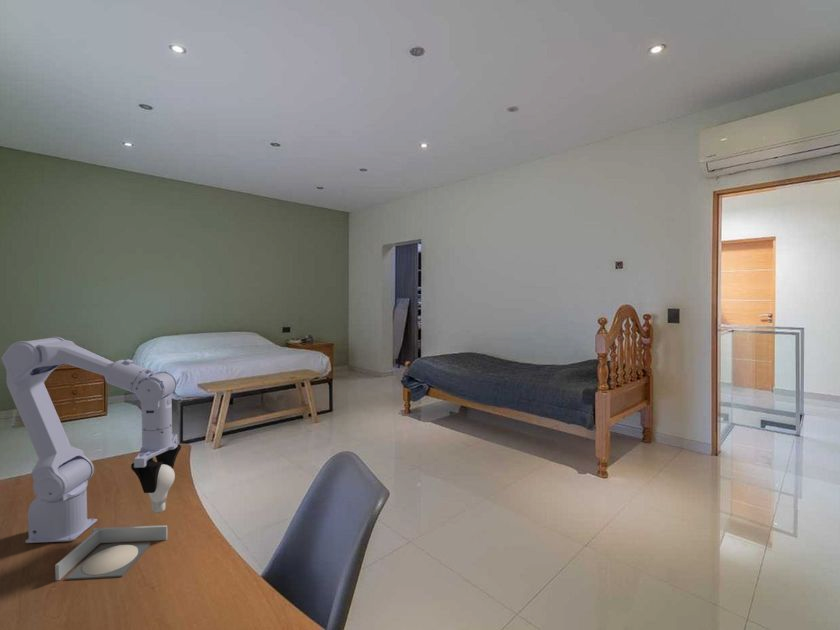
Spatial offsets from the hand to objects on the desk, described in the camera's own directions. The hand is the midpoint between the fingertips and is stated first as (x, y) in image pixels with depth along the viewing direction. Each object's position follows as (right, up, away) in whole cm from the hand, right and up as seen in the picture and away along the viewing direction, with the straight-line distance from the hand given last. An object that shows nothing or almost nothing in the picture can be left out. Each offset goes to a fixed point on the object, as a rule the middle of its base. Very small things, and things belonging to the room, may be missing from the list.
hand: (157, 484), depth 91 cm
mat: (-3, -11, -11) cm, 15 cm away
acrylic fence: (-3, -11, -10) cm, 15 cm away
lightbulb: (0, -7, 0) cm, 7 cm away
